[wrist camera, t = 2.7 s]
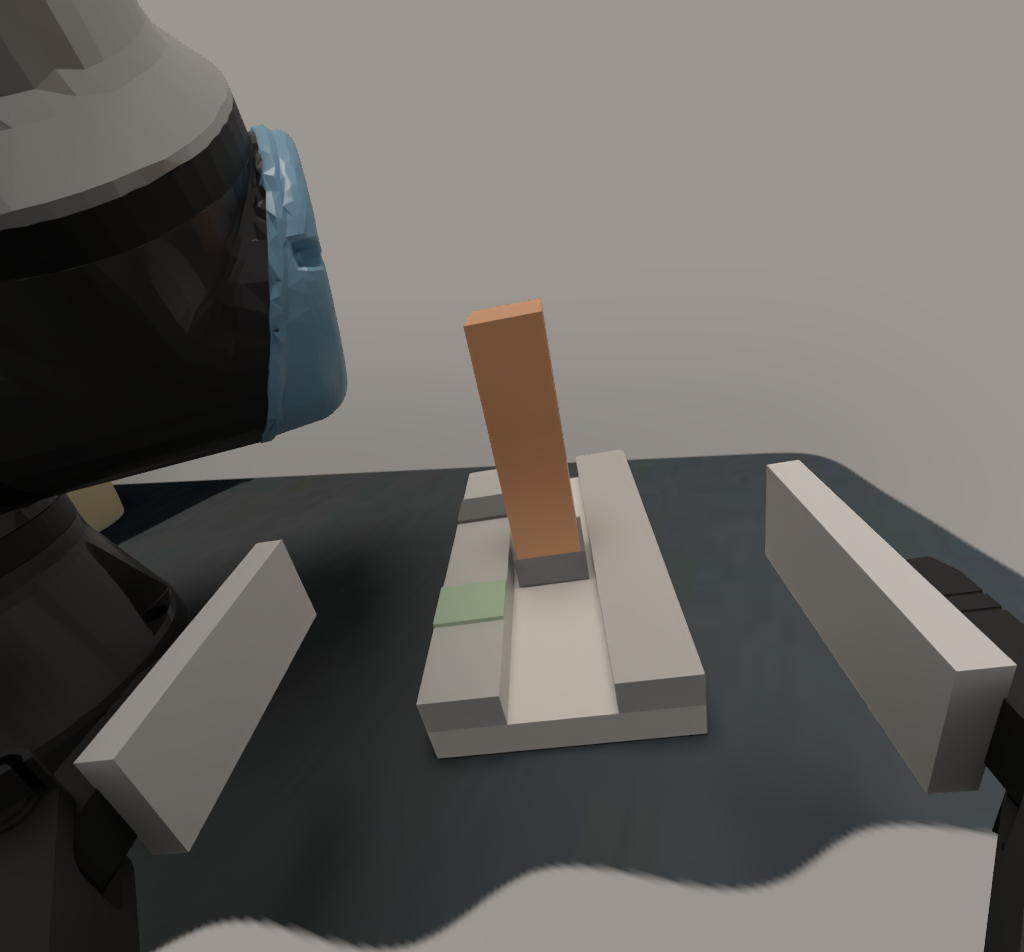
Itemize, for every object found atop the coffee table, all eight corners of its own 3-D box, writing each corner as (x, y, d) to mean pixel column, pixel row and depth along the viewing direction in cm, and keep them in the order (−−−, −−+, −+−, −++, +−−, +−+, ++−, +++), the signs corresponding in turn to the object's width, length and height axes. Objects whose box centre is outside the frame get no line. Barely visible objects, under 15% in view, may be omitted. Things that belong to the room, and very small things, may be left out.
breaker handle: (589, 577, 25) (547, 309, 20) (519, 586, 26) (458, 327, 20) (584, 541, 28) (545, 297, 22) (520, 550, 28) (467, 312, 23)
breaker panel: (707, 733, 19) (704, 669, 17) (437, 758, 20) (414, 700, 19) (627, 489, 35) (622, 446, 33) (479, 511, 36) (469, 470, 35)
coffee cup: (97, 500, 53) (25, 386, 48) (156, 503, 49) (85, 380, 44) (-10, 556, 45) (-110, 429, 40) (50, 565, 42) (-51, 426, 36)
